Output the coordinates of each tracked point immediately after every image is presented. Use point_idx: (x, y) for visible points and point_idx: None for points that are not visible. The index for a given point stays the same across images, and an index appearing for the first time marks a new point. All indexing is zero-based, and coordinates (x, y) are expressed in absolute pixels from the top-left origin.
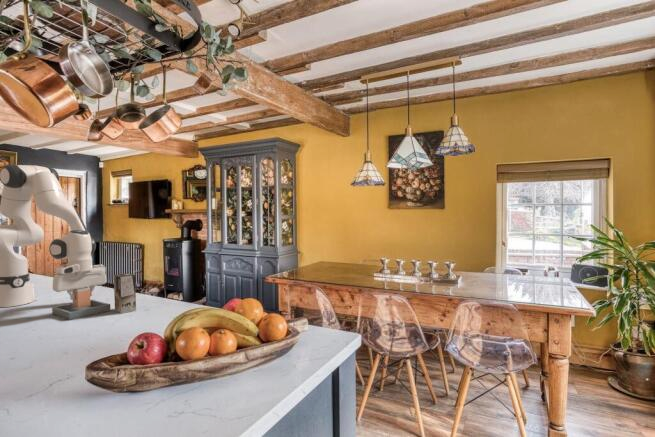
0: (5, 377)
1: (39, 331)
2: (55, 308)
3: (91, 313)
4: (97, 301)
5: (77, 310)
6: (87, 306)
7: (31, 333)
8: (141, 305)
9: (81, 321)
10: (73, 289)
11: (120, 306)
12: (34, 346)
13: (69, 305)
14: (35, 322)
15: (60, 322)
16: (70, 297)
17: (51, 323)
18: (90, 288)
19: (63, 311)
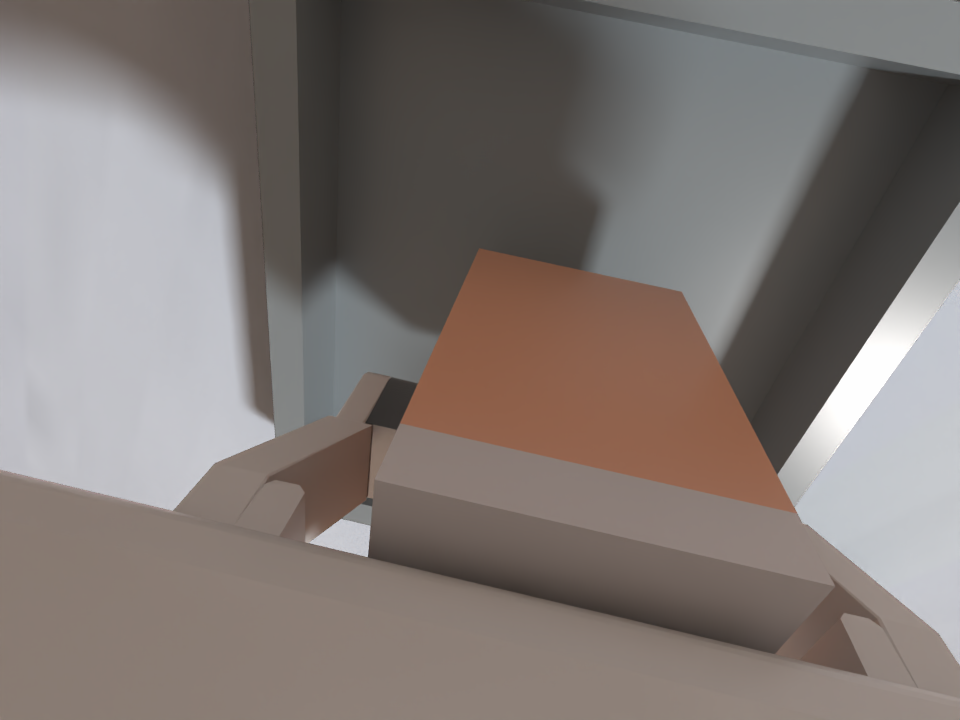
0: None
1: (68, 481)
2: (254, 74)
3: None
4: (877, 353)
5: (564, 219)
6: (834, 122)
7: (20, 471)
8: (956, 654)
9: (351, 551)
10: (376, 530)
11: None
12: None
13: (562, 1)
14: (55, 178)
15: (237, 429)
16: (353, 394)
17: (174, 383)
18: (857, 612)
19: (275, 367)
